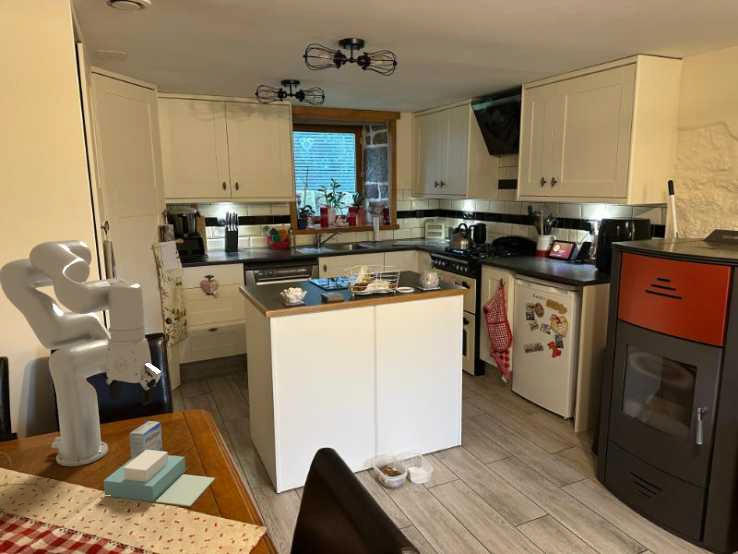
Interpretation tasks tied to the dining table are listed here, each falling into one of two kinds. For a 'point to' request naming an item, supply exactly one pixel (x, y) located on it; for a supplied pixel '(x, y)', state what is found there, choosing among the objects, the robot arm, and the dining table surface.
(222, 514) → the dining table surface
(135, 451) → the medicine box
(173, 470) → the block
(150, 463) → the white rectangular block
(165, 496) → the mat
